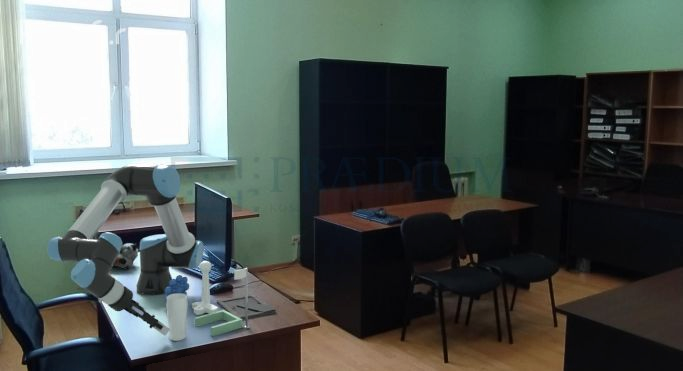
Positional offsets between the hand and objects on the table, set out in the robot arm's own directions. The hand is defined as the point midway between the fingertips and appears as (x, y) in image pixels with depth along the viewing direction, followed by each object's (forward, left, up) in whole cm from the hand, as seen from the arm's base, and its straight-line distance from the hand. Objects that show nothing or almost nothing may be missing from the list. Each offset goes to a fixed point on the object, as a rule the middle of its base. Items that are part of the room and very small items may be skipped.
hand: (166, 331), depth 196 cm
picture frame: (-9, +38, -4) cm, 40 cm away
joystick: (-16, +23, -4) cm, 28 cm away
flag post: (+7, +26, -4) cm, 27 cm away
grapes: (-30, +19, -4) cm, 36 cm away
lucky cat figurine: (-92, +23, -4) cm, 95 cm away
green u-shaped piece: (0, +20, -4) cm, 20 cm away
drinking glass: (0, +4, -4) cm, 6 cm away
